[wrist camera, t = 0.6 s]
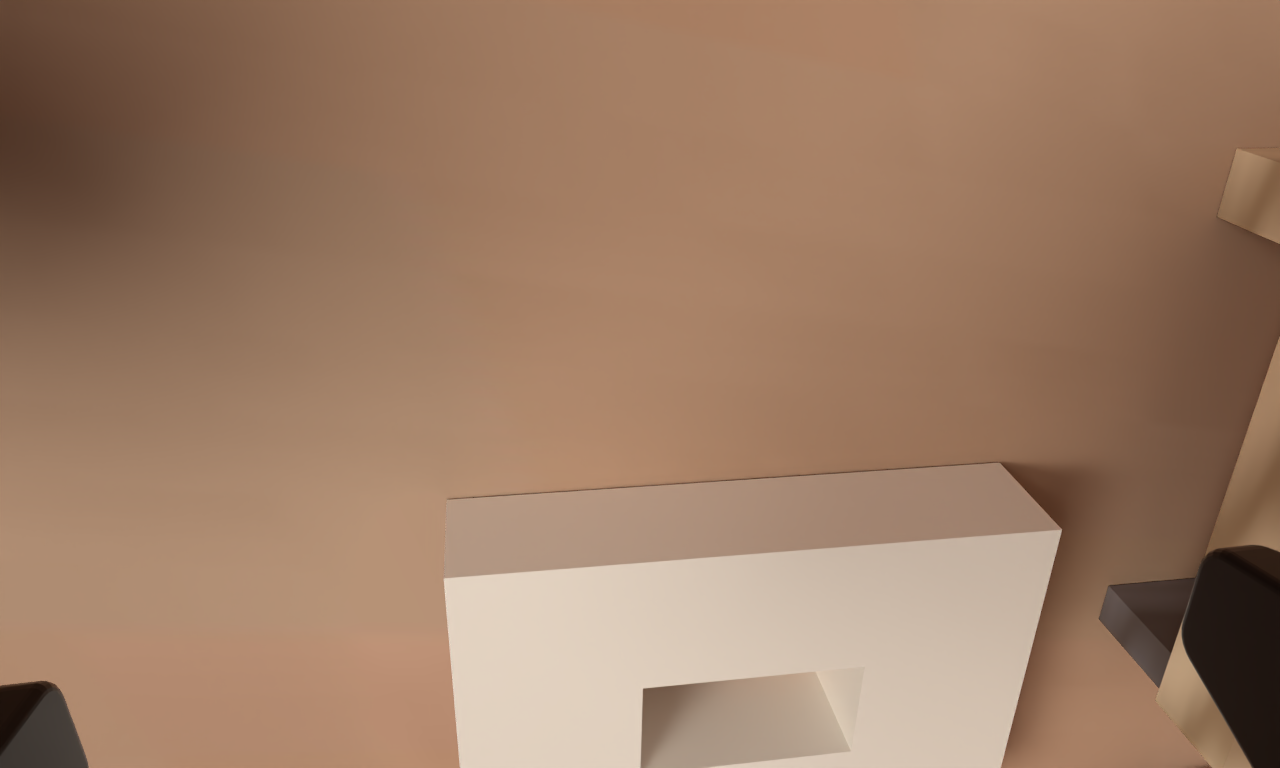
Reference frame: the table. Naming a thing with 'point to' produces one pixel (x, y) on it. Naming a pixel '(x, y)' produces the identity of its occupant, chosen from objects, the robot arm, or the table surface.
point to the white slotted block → (747, 621)
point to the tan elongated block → (1250, 513)
